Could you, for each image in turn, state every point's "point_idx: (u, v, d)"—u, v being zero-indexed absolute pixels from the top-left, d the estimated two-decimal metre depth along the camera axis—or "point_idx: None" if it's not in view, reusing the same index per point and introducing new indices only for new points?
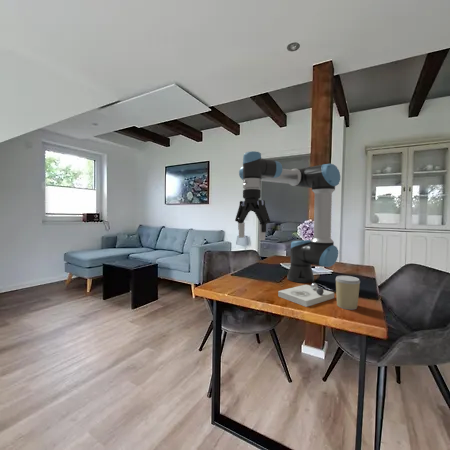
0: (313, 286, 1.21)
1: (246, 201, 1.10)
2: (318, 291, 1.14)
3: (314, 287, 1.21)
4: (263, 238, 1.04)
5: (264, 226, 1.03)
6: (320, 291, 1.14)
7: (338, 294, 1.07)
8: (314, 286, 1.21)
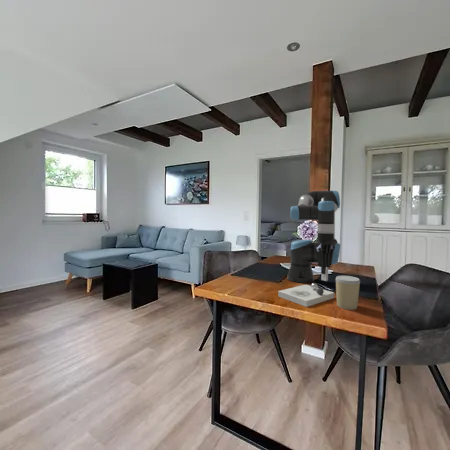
0: (313, 286, 1.21)
1: None
2: (318, 291, 1.14)
3: (314, 287, 1.21)
4: (324, 279, 1.25)
5: (322, 269, 1.25)
6: (320, 291, 1.14)
7: (338, 294, 1.07)
8: (314, 286, 1.21)
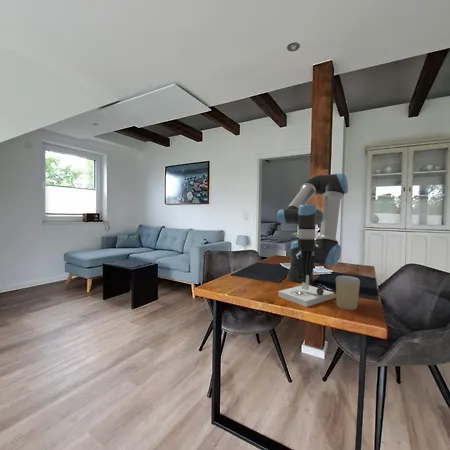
0: (300, 294, 1.16)
1: None
2: (318, 291, 1.14)
3: None
4: (305, 287, 1.17)
5: (302, 277, 1.17)
6: (320, 291, 1.14)
7: (338, 294, 1.07)
8: (301, 294, 1.16)
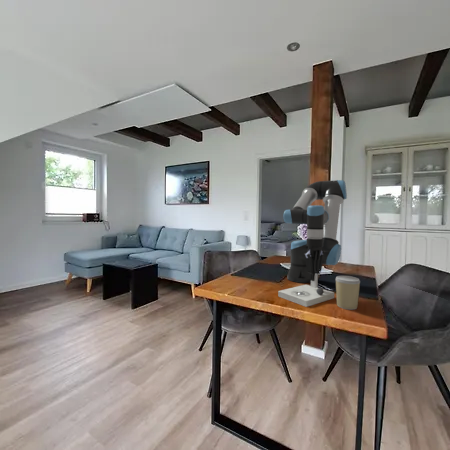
0: None
1: None
2: (318, 291, 1.14)
3: None
4: (313, 286, 1.21)
5: (311, 275, 1.21)
6: (320, 291, 1.14)
7: (338, 294, 1.07)
8: None
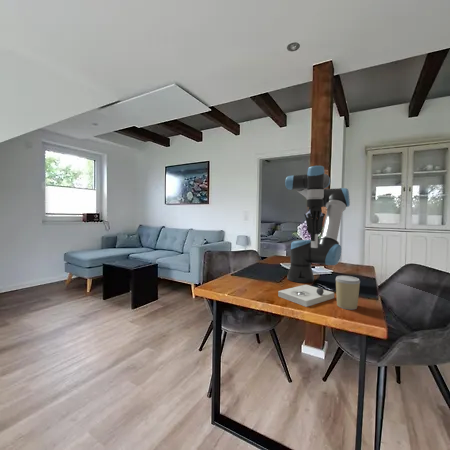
0: None
1: None
2: (318, 291, 1.14)
3: None
4: (314, 246, 1.23)
5: (311, 236, 1.23)
6: (320, 291, 1.14)
7: (338, 294, 1.07)
8: None
